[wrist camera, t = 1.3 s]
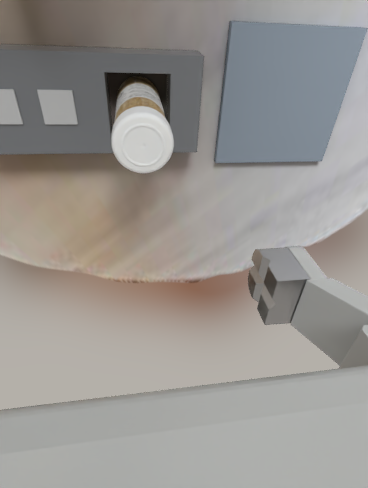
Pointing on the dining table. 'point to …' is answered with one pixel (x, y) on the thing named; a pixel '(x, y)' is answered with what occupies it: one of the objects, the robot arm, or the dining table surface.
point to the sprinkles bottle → (141, 127)
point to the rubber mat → (283, 90)
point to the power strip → (87, 96)
